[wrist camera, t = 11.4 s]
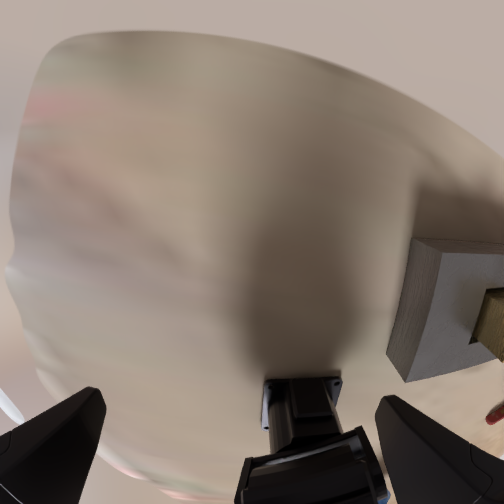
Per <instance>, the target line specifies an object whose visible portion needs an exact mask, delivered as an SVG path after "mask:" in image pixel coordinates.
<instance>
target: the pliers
mask: <svg viewBox="0 0 504 504" xmlns="http://www.w3.org/2000/svg"><path fill="white" fill-rule="evenodd" d="M503 418H504V406H502V407H501V408H500V409H498V410H497V411H495V412H493V413H492V414H490V415H488V416H487V417H486V422H487V423H488V424H489V425H493V424H495V423H497V422H498V421H500V420H501V419H503Z"/></svg>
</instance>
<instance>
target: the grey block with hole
mask: <svg viewBox="0 0 504 504" xmlns="http://www.w3.org/2000/svg"><path fill="white" fill-rule="evenodd" d="M499 287H502V288H504V244H497V243H483V242H470V241H455V240H440V239H423V238H411V245H410V252H409V258H408V264H407V270H406V275H405V280H404V285H403V290H402V295H401V299H400V304H399V308H398V312H397V316H396V320H395V324H394V328H393V332H392V335H391V339H390V343H389V346H388V349H387V353H386V355H387V356H388V358H389V359H390V361H391V362H392V364H393V365H394V367H395V368H396V370H397V371H398V373H399V374H400V376H401V377H402V379H403V380H404V382H405V383H407V382H412V381H417V380H422V379H426V378H431V377H435V376H439V375H443V374H447V373H451V372H455V371H458V370H462V369H465V368H469V367H472V366H475V365H479V364H482V363H485V362H488V361H491V360H494V359H497V357H496V356H495V355H494V354H493V353H491V352H490V351H489V350H488V349H487V348H486V347H485V346H484V345H483V344H482V343H480V342H479V341H478V340H477V339H476V338H475V337H474V336H473V335H472V333H473V330H474V327H475V324H476V321H477V318H478V315H479V312H480V309H481V305H482V302H483V298H484V295H485V291H486V289H488V288H499Z"/></svg>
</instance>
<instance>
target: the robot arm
mask: <svg viewBox="0 0 504 504" xmlns="http://www.w3.org/2000/svg"><path fill="white" fill-rule="evenodd" d="M337 381H338V382H337ZM335 382H337V383H335ZM342 383H343V381H342V379H341V377H338V376H335V377H322V378H303V379H270V380H267V381H265V383H264V394H263V407H262V420H261V429H262V430H263V431H269V439H270V453H271V454H270V455H265V456H260V457H255V458H253V457H249V458H245V461H244V465H243V468H242V472H241V476H240V480H239V483H238V487H237V491H236V495H235V499H234V504H378V501H380V500H382V499H385V498H387V497H388V492H387V488H386V483H385V480H384V477H383V473H382V470H381V467H380V465H379V462H378V460H377V457H376V455H375V453H374V451H373V448H372V446H371V444H370V442H369V440H368V438H367V435H366V433H365V431H364V429H363V427H362V425H361V426H359V427H356V428H355V429H354V430H351V431H348V432H346V433H343V430H342V427H341V424H340V421H339V418H338V415H337V412H336V409H335V407H336V404H337V401H338V397H339V394H340V390H341V387H342ZM269 385H272V386H269ZM105 415H106V404H105V402H104V399H103V396H102V394H101V391H100V390H99V389H98V388H94V387H86V388H84V389H82V390H81V391H79V392H77V393H76V394H74V395H72V396H71V397H69V398H67V399H65V400H64V401H62V402H60V403H58V404H57V405H55V406H53V407H52V408H50V409H48V410H46V411H45V412H43V413H41V414H39V415H38V416H36V417H34V418H32V419H31V420H29V421H27V422H25V423H23V424H21V425H20V426H18V427H16V428H14V429H13V430H12V431H9V432H7V433H5V434H3V435H1V436H0V504H78V503H79V500H80V497H81V494H82V491H83V488H84V485H85V481H86V479H87V476H88V473H89V470H90V467H91V464H92V461H93V459H94V456H95V453H96V450H97V447H98V443H99V439H100V435H101V431H102V427H103V423H104V419H105ZM375 421H376V426H377V431H378V435H379V440H380V445H381V450H382V455H383V458H384V462H385V465H386V468H387V471H388V474H389V477H390V480H391V484H392V487H393V490H394V494H395V497H396V500H397V504H504V460H501V459H499V458H497V457H495V456H493V455H491V454H489V453H487V452H485V451H483V450H481V449H480V448H478V447H476V446H475V445H473V444H470V443H469V442H468V441H466V440H465V439H463V438H461V437H460V436H458V435H456V434H455V433H453V432H452V431H450V430H448V429H447V428H445V427H444V426H442V425H441V424H439V423H437V422H436V421H434V420H433V419H431V418H430V417H428V416H426V415H425V414H423V413H422V412H420V411H419V410H417V409H416V408H414V407H413V406H411V405H410V404H408V403H407V402H405V401H404V400H402V399H401V398H399V397H398V396H396V395H388V396H384V397H382V399H381V401H380V403H379V406H378V408H377V410H376V413H375ZM266 426H267V427H266Z"/></svg>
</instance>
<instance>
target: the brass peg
mask: <svg viewBox="0 0 504 504" xmlns="http://www.w3.org/2000/svg"><path fill="white" fill-rule="evenodd" d="M472 335H473V336H474V337H475V338H476V339H477V340H478V341H479V342H480V343H482V344H483V345H484V346H485V347H486V348H487V349H488V350H489V351H490V352H491V353H493V354H494V355H495V356H496V357H497V358H498V359H499V360H500V361H501V362H502V363H504V288H502V287H499V288H488V289H486V291H485V295H484V298H483V302H482V305H481V309H480V312H479V315H478V318H477V321H476V324H475V327H474V330H473V333H472Z"/></svg>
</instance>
